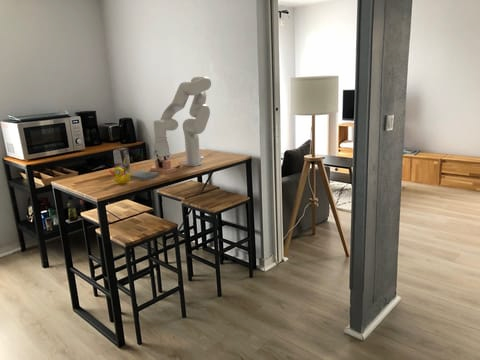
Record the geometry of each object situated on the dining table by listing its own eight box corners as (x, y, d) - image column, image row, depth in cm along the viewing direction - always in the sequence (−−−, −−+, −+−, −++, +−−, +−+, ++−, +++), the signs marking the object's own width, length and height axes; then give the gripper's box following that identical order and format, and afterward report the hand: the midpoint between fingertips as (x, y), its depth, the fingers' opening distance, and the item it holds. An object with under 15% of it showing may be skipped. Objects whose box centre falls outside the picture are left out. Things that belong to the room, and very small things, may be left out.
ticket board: (141, 173, 255) (141, 170, 255) (159, 176, 247) (159, 172, 246) (127, 177, 246) (126, 174, 245) (145, 180, 237) (144, 177, 237)
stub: (159, 168, 268) (158, 157, 266) (176, 170, 259) (175, 160, 257) (150, 170, 262) (149, 160, 260) (168, 173, 253) (167, 162, 251)
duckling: (110, 185, 230) (108, 168, 227) (112, 183, 235) (110, 166, 232) (130, 184, 231) (128, 167, 228) (131, 181, 236) (130, 165, 233)
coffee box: (124, 174, 253) (121, 150, 249) (115, 174, 254) (112, 150, 250) (131, 171, 262) (128, 147, 257) (122, 171, 263) (119, 147, 259)
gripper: (165, 136, 263) (168, 163, 268) (147, 141, 250) (149, 169, 255) (174, 137, 259) (176, 164, 264) (155, 141, 246) (158, 170, 251)
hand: (163, 166), depth 260 cm, fingers closed on stub, 4 cm apart
